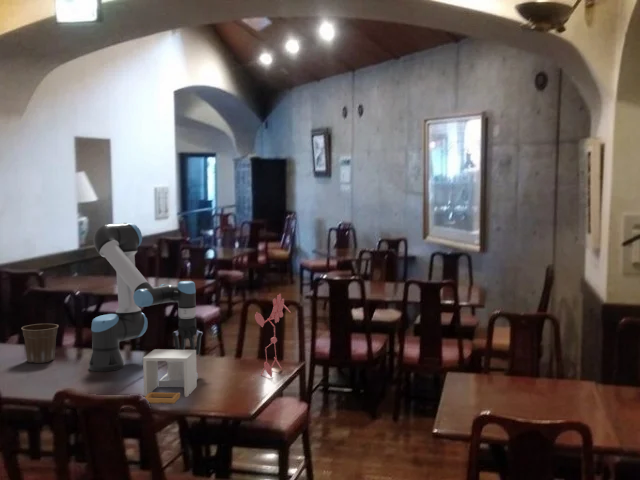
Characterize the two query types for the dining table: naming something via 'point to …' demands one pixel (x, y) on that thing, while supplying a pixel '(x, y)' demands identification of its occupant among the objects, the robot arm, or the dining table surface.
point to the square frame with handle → (171, 382)
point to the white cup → (175, 370)
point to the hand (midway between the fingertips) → (188, 370)
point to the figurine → (275, 314)
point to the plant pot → (40, 342)
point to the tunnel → (169, 355)
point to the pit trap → (162, 397)
